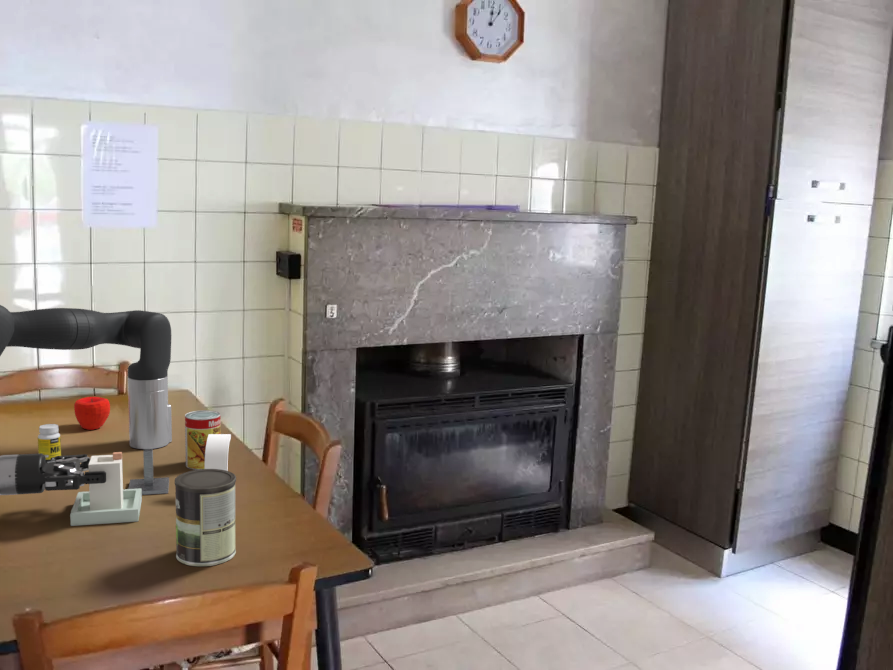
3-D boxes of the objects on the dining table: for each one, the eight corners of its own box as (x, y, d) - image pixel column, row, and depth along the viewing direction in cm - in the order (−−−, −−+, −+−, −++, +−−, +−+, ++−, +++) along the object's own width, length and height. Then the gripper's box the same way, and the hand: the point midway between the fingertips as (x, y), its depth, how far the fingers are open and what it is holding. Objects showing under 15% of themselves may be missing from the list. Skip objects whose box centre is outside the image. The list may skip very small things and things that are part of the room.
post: (130, 483, 187) (129, 445, 185) (169, 480, 189) (168, 443, 187) (127, 495, 179) (126, 456, 178) (168, 493, 181) (167, 454, 180)
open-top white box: (93, 504, 172) (91, 449, 170) (124, 502, 173) (122, 448, 171) (90, 514, 166) (88, 458, 164) (122, 512, 168) (120, 457, 166)
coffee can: (169, 567, 147) (168, 487, 144) (182, 542, 157) (181, 468, 155) (231, 567, 148) (230, 488, 145) (240, 542, 158) (240, 468, 156)
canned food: (220, 469, 198) (220, 418, 196) (185, 470, 196) (184, 419, 194) (221, 458, 205) (220, 409, 203) (186, 460, 203) (185, 410, 201)
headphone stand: (231, 488, 186) (231, 434, 184) (227, 498, 180) (226, 442, 178) (209, 488, 185) (208, 434, 183) (204, 498, 179) (204, 442, 177)
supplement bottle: (52, 465, 196) (51, 429, 195) (34, 463, 197) (32, 427, 196) (65, 459, 201) (64, 424, 200) (47, 457, 202) (46, 422, 200)
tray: (78, 503, 174) (78, 492, 174) (141, 499, 177) (141, 488, 177) (70, 525, 163) (70, 513, 162) (138, 521, 166) (138, 509, 166)
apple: (118, 427, 228) (117, 398, 227) (88, 434, 221) (87, 404, 220) (96, 421, 233) (95, 393, 232) (67, 428, 226) (66, 399, 224)
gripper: (8, 467, 157) (104, 462, 161) (23, 444, 170) (111, 441, 175) (10, 506, 158) (105, 500, 162) (24, 481, 171) (112, 476, 176)
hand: (108, 469), depth 168 cm, fingers open, 8 cm apart
